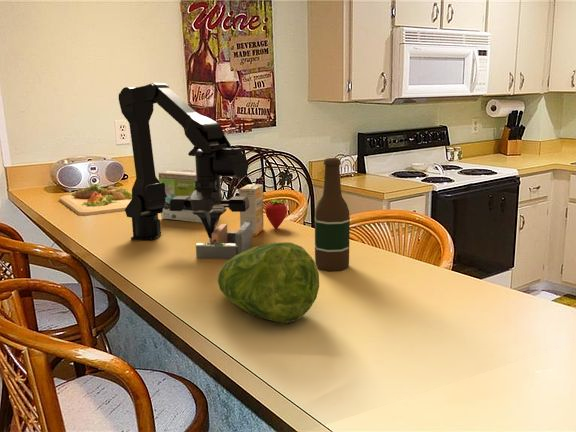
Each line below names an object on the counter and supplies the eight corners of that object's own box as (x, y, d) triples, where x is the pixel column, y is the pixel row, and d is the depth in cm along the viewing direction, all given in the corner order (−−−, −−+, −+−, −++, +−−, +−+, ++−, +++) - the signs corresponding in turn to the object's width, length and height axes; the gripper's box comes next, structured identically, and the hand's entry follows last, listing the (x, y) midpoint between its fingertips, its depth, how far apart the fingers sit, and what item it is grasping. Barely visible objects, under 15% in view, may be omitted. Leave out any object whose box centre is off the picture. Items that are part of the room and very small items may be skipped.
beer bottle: (326, 274, 117) (326, 161, 111) (308, 264, 123) (307, 158, 118) (356, 268, 120) (357, 159, 115) (337, 259, 127) (337, 155, 122)
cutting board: (151, 209, 189) (150, 187, 187) (81, 218, 176) (78, 195, 174) (121, 194, 217) (119, 175, 216) (58, 201, 205) (56, 181, 203)
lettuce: (254, 307, 111) (252, 241, 111) (333, 319, 92) (330, 240, 93) (191, 315, 102) (189, 244, 102) (265, 330, 83) (263, 244, 84)
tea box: (160, 219, 170) (156, 172, 167) (178, 213, 179) (175, 168, 176) (202, 223, 164) (199, 174, 161) (218, 216, 173) (216, 170, 170)
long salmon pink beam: (209, 257, 128) (209, 236, 127) (222, 242, 140) (221, 223, 139) (216, 257, 128) (215, 236, 127) (227, 242, 140) (227, 223, 139)
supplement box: (257, 236, 148) (255, 188, 145) (240, 236, 149) (238, 188, 146) (264, 229, 156) (263, 183, 153) (248, 228, 157) (246, 183, 154)
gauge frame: (196, 258, 129) (195, 233, 128) (211, 242, 143) (210, 220, 141) (242, 259, 128) (241, 234, 127) (252, 243, 142) (252, 220, 140)
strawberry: (279, 224, 161) (278, 191, 159) (291, 229, 155) (291, 195, 153) (261, 227, 159) (260, 193, 156) (272, 232, 152) (272, 197, 150)
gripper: (159, 180, 125) (163, 246, 128) (239, 180, 123) (241, 247, 126) (174, 173, 136) (178, 234, 139) (248, 173, 134) (250, 235, 137)
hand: (211, 237), depth 135 cm, fingers closed
